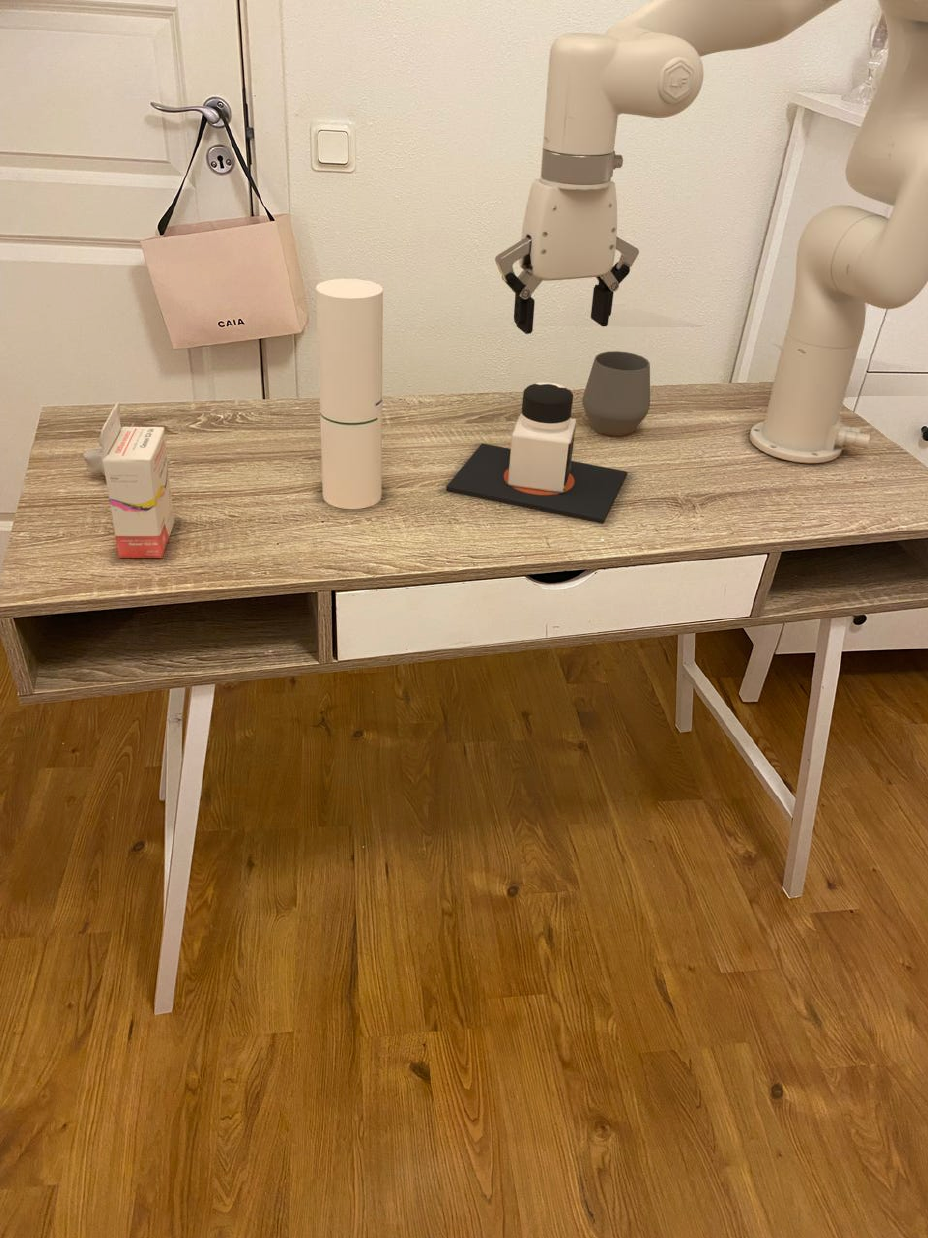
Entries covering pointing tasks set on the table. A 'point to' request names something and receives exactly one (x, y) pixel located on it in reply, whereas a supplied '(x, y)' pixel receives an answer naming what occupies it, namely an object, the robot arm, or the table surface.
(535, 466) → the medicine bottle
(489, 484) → the mat
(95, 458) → the rubber duck
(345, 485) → the cylindrical container
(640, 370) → the cup
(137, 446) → the ink cartridge box
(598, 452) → the table surface
